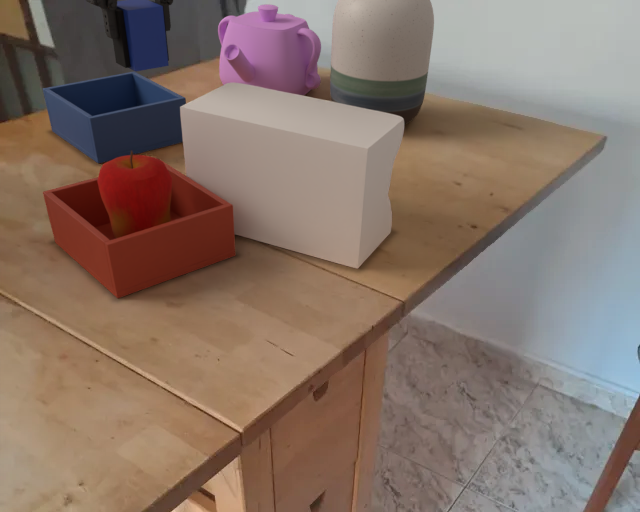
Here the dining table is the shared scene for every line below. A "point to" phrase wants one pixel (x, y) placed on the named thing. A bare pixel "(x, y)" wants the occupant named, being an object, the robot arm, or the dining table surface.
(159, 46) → the block
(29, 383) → the dining table surface
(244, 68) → the teapot
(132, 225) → the apple
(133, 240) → the red bin
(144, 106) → the blue bin
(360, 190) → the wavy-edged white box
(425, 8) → the vase
